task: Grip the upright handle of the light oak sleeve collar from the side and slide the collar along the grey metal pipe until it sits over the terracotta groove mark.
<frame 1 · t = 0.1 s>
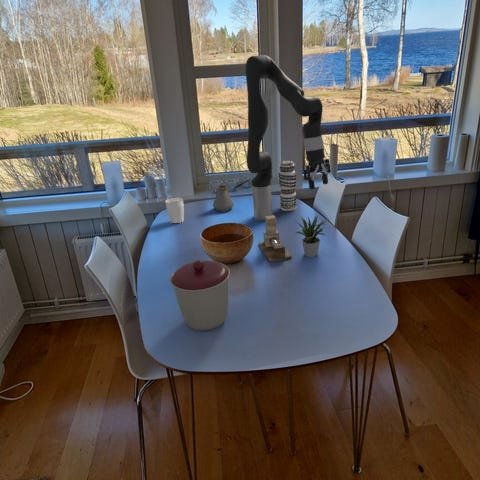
hand: (319, 186, 171), 22 cm above the table, tool pointing down, fingers open, 8 cm apart
pipe: (273, 241, 167), point 4 cm above the table
house plant: (312, 255, 162), on the table
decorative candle: (288, 208, 215), on the table
coffee pot: (232, 208, 223), on the table
canister: (206, 321, 127), on the table
cup: (177, 222, 211), on the table
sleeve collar: (271, 231, 168), point 8 cm above the table, slide at 0.0 cm
base board: (274, 251, 168), on the table
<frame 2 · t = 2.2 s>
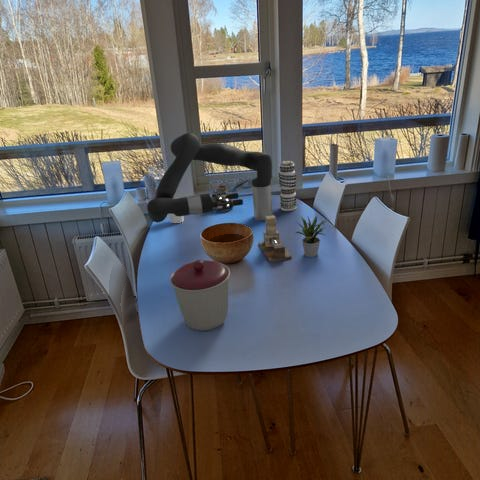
hand: (240, 198, 159), 24 cm above the table, tool horizontal, fingers open, 8 cm apart
nothing on the table moved.
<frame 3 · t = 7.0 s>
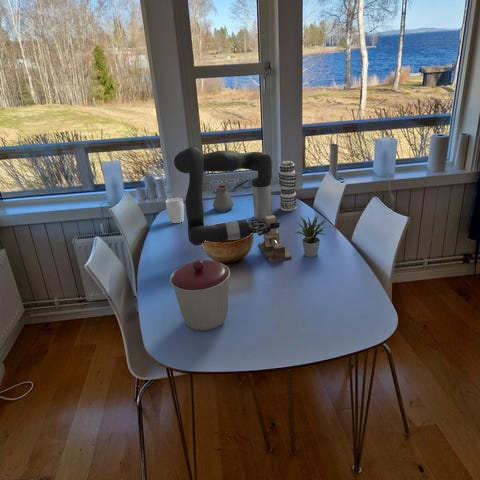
hand: (277, 223, 167), 11 cm above the table, tool horizontal, fingers closed on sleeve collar, 3 cm apart
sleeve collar: (271, 231, 168), point 8 cm above the table, slide at 0.0 cm, touching gripper
everything else where it was.
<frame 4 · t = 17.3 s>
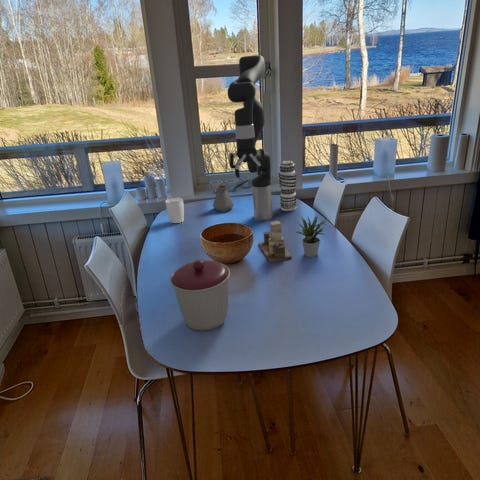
hand: (248, 176, 166), 30 cm above the table, tool pointing down, fingers open, 8 cm apart
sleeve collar: (276, 237, 162), point 8 cm above the table, slide at 7.0 cm
everything else where it was.
at the end: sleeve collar slide at 7.0 cm; the gripper is holding nothing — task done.
